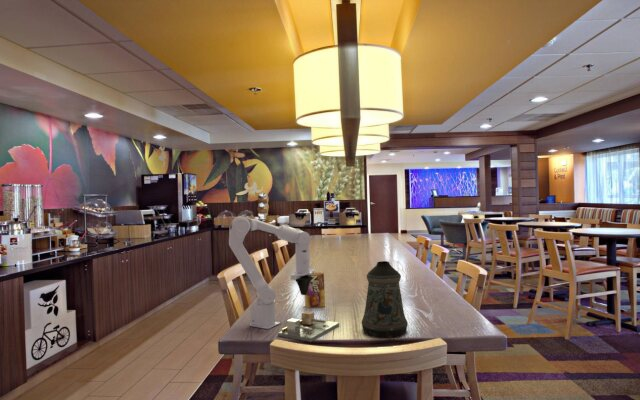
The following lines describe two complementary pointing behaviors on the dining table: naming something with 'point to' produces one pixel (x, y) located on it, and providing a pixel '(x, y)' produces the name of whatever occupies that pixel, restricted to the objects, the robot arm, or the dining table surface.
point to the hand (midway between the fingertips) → (304, 294)
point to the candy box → (316, 291)
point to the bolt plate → (310, 331)
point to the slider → (309, 318)
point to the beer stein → (384, 303)
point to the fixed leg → (295, 326)
